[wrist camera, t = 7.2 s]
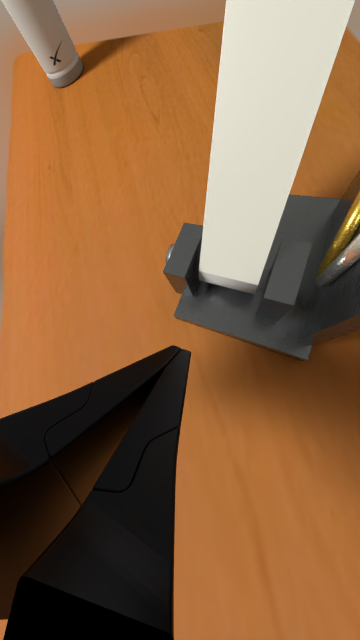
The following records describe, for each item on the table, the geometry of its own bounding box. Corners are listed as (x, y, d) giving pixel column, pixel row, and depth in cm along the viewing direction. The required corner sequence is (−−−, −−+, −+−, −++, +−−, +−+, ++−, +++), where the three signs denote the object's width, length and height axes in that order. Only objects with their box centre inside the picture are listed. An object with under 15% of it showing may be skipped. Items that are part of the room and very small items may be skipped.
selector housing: (302, 360, 14) (425, 342, 5) (164, 314, 17) (102, 258, 9) (343, 210, 16) (478, 21, 7) (213, 196, 19) (201, 57, 11)
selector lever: (251, 305, 12) (560, -604, 3) (194, 289, 14) (253, -361, 4) (259, 281, 15) (430, -225, 5) (210, 270, 16) (271, -154, 6)
